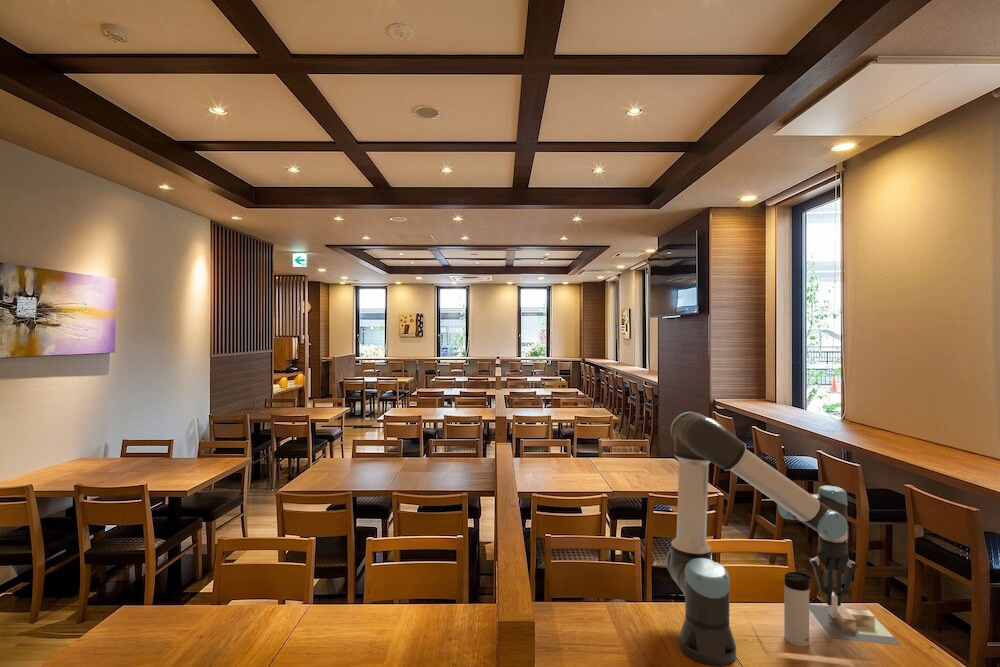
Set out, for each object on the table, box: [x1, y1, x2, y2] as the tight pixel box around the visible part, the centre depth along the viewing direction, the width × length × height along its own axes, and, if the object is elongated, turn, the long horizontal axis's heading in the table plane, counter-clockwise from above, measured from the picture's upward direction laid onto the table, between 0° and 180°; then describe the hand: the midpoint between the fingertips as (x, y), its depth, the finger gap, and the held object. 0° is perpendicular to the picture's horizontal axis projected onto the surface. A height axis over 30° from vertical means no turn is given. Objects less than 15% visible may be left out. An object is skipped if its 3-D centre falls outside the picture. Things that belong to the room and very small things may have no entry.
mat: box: [809, 603, 902, 646], centre depth 164 cm, size 18×20×1 cm
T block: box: [831, 603, 876, 632], centre depth 164 cm, size 10×10×4 cm
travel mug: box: [783, 571, 811, 647], centre depth 155 cm, size 6×7×20 cm
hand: (833, 615), depth 165 cm, fingers closed
